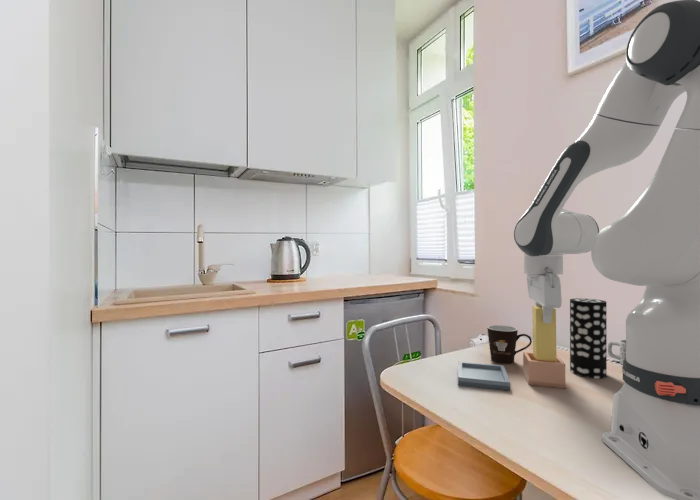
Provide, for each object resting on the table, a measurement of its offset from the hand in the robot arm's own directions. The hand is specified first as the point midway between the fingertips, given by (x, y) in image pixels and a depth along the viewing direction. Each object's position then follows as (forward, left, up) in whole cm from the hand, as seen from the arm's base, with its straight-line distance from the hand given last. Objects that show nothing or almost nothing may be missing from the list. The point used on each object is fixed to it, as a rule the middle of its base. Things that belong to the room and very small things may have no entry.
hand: (543, 320), depth 90 cm
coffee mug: (+14, +7, -16) cm, 23 cm away
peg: (0, 0, -10) cm, 10 cm away
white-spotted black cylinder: (+10, -13, -16) cm, 23 cm away
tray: (-3, +15, -16) cm, 22 cm away
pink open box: (0, 0, -16) cm, 16 cm away
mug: (+23, -27, -16) cm, 39 cm away
